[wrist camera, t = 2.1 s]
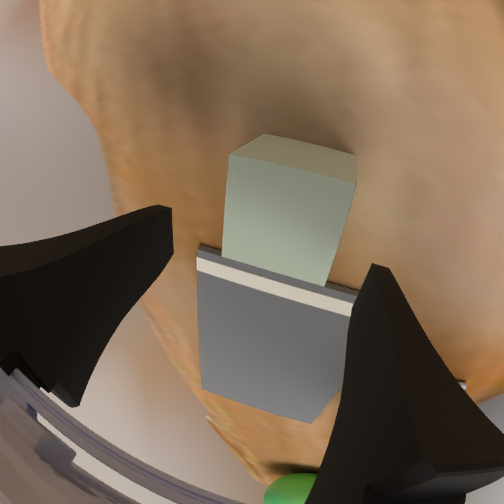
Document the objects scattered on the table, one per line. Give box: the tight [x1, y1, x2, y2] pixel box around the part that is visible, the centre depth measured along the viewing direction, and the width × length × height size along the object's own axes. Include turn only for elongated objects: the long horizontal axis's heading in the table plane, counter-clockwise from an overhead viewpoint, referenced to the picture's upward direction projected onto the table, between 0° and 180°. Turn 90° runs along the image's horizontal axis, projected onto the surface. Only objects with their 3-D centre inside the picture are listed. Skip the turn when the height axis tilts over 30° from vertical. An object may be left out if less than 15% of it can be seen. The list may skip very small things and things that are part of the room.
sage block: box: [222, 134, 357, 287], centre depth 14 cm, size 5×5×5 cm
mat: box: [197, 245, 360, 424], centre depth 25 cm, size 14×21×1 cm, turn 174°
